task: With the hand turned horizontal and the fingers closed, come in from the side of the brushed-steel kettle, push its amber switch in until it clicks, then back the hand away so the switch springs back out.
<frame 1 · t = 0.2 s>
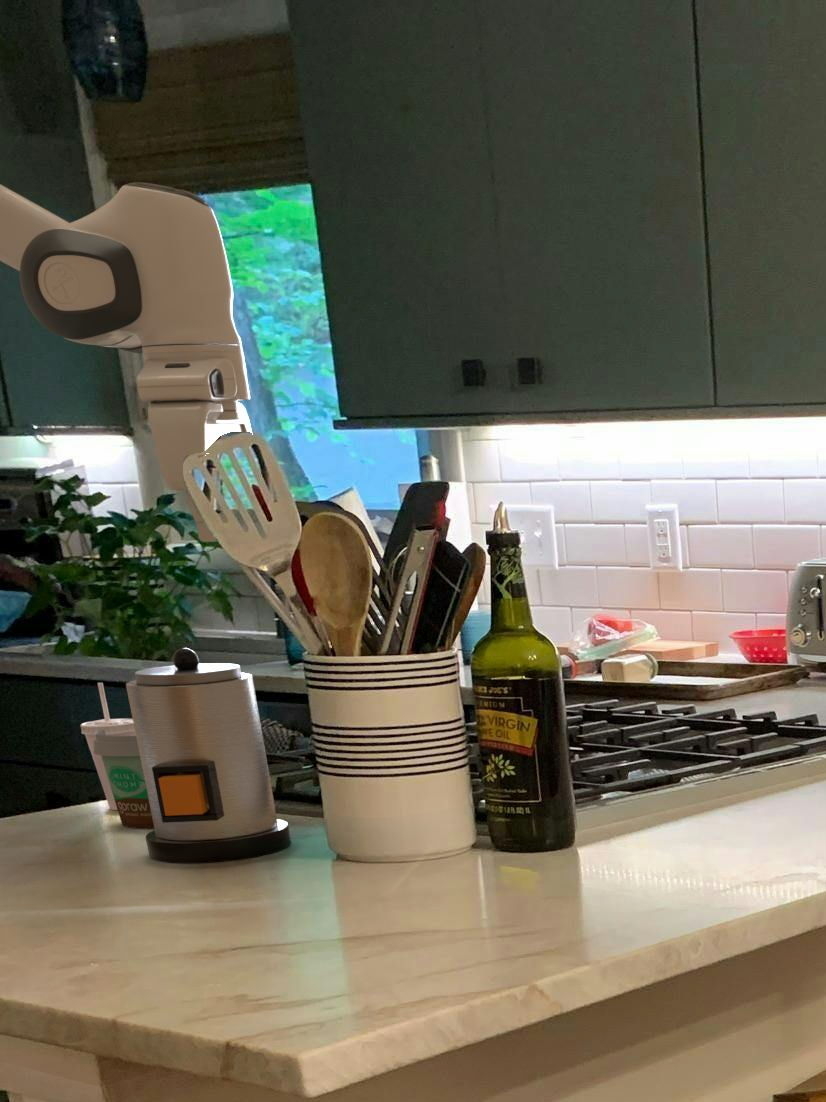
hand: (225, 539, 186), 30 cm above the counter, tool pointing down, fingers open, 8 cm apart
switch: (183, 794, 190), point 7 cm above the counter, slide at 0.1 cm
smoothie: (127, 808, 226), on the counter
food container: (152, 827, 215), on the counter
kettle: (220, 849, 201), on the counter
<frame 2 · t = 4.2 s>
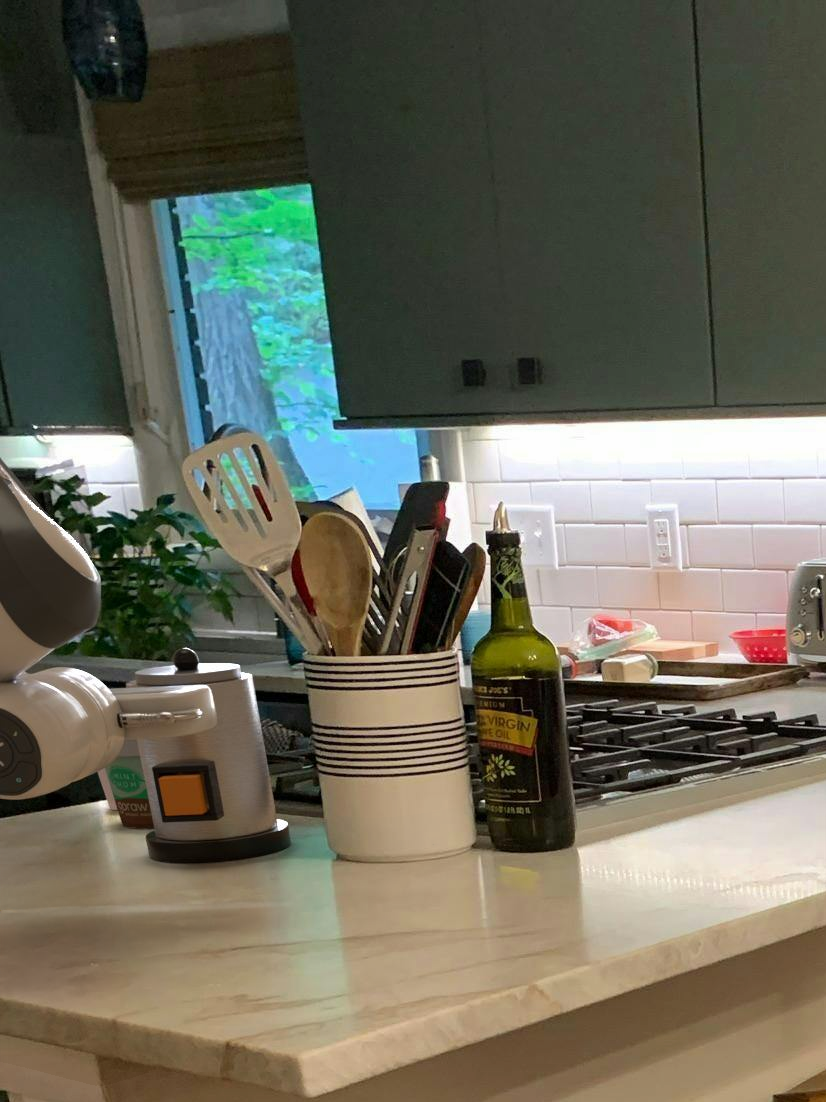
hand: (119, 703, 174), 17 cm above the counter, tool horizontal, fingers closed
nothing on the counter moved.
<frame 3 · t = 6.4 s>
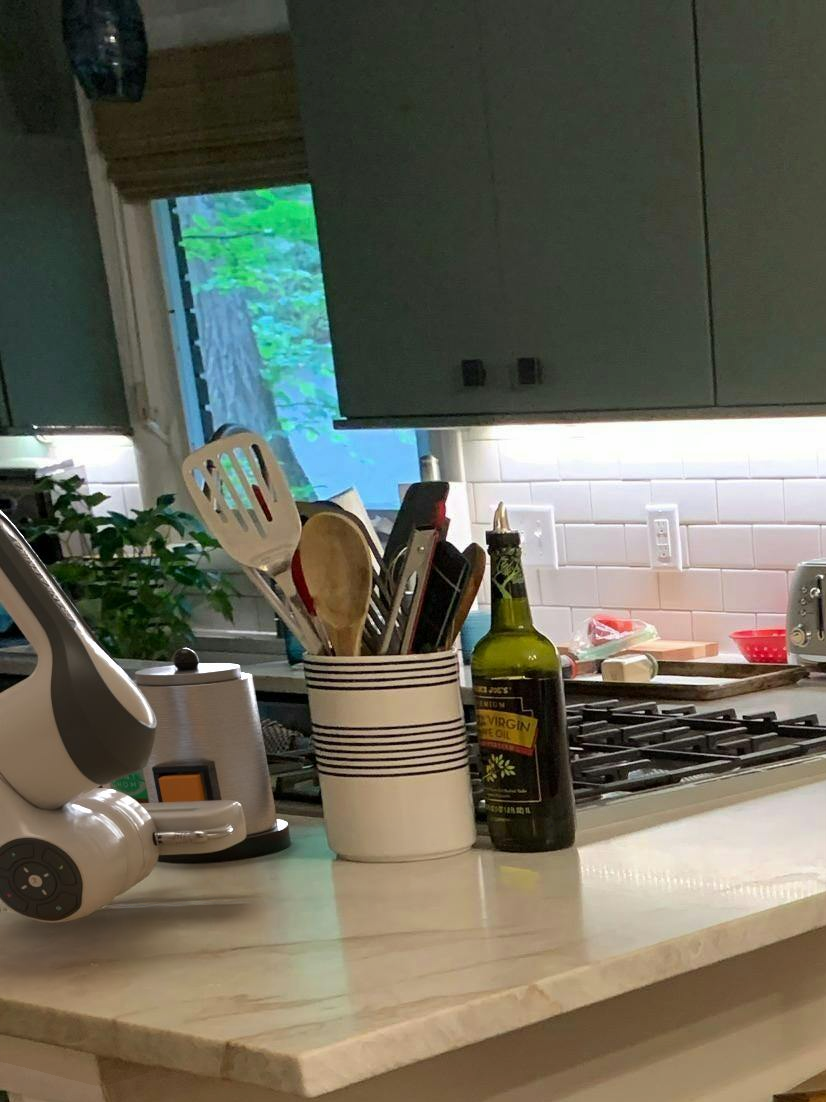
hand: (152, 813, 182), 7 cm above the counter, tool horizontal, fingers closed
nothing on the counter moved.
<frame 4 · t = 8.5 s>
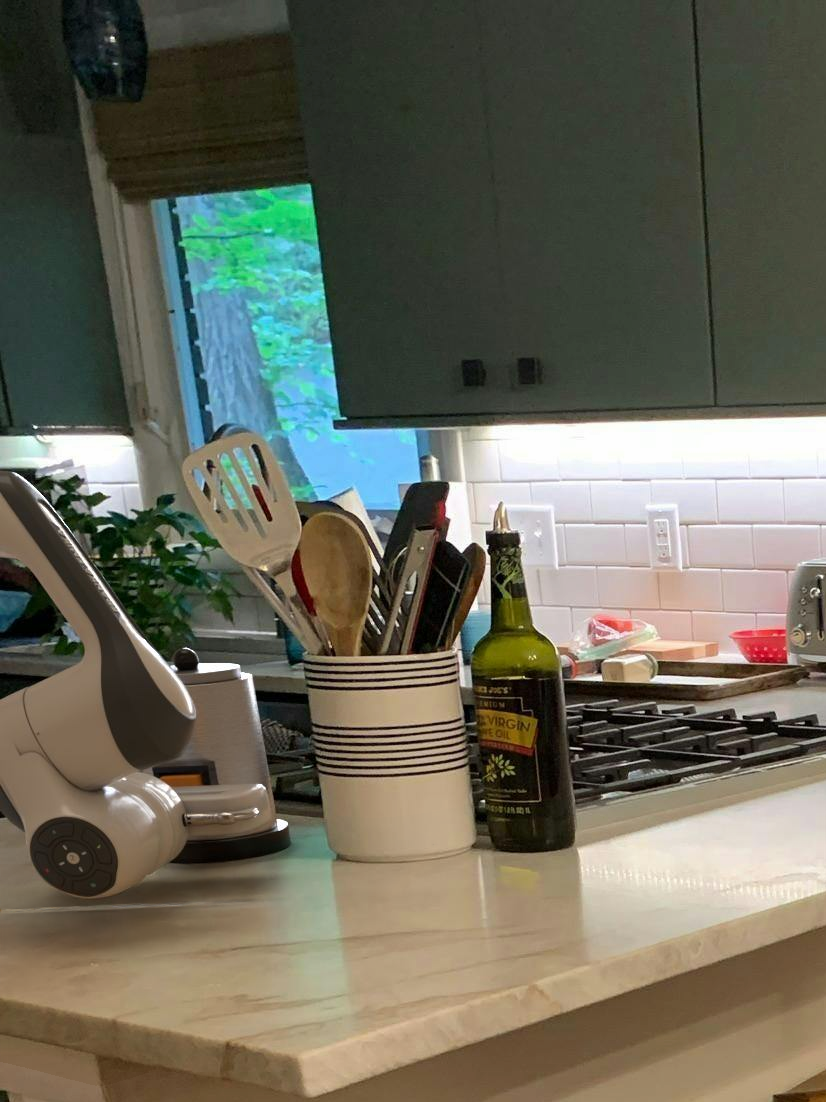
hand: (180, 796, 189), 7 cm above the counter, tool horizontal, fingers closed, pressing on switch
switch: (183, 794, 190), point 7 cm above the counter, slide at -0.1 cm, touching gripper
everything else where it was.
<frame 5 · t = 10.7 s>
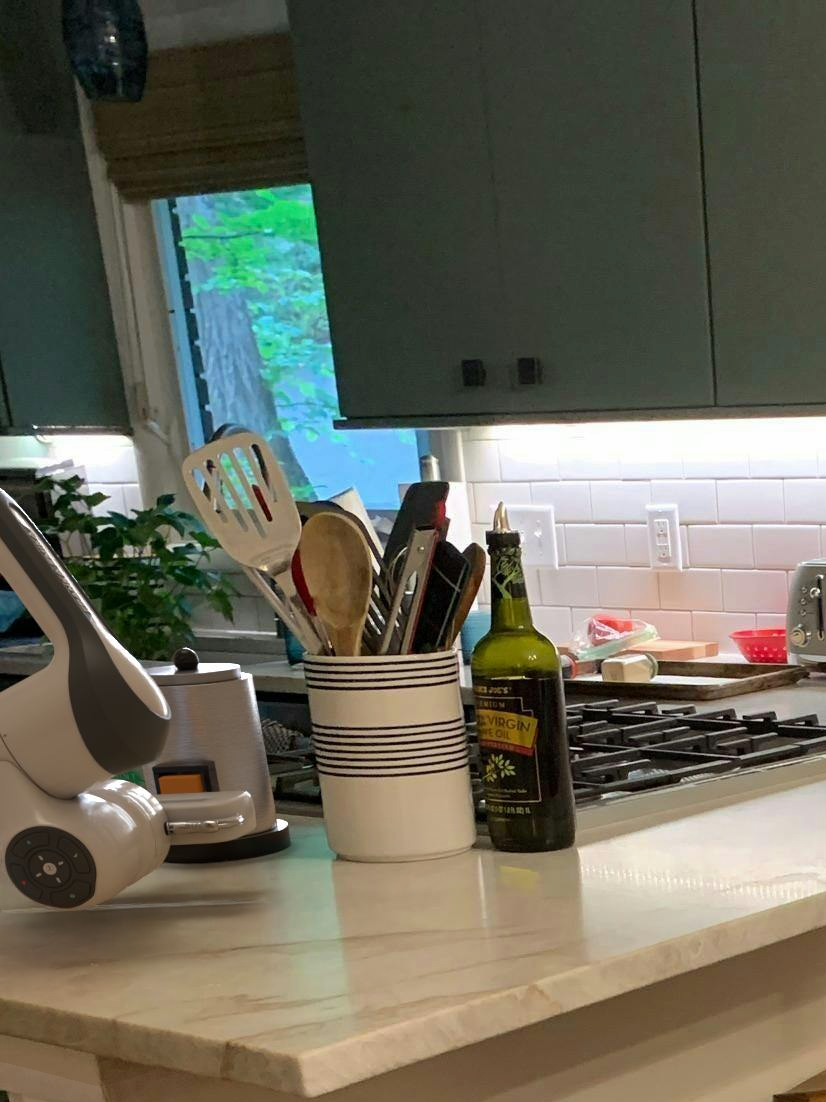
hand: (162, 805, 184), 7 cm above the counter, tool horizontal, fingers closed
switch: (183, 794, 190), point 7 cm above the counter, slide at 0.1 cm
everything else where it was.
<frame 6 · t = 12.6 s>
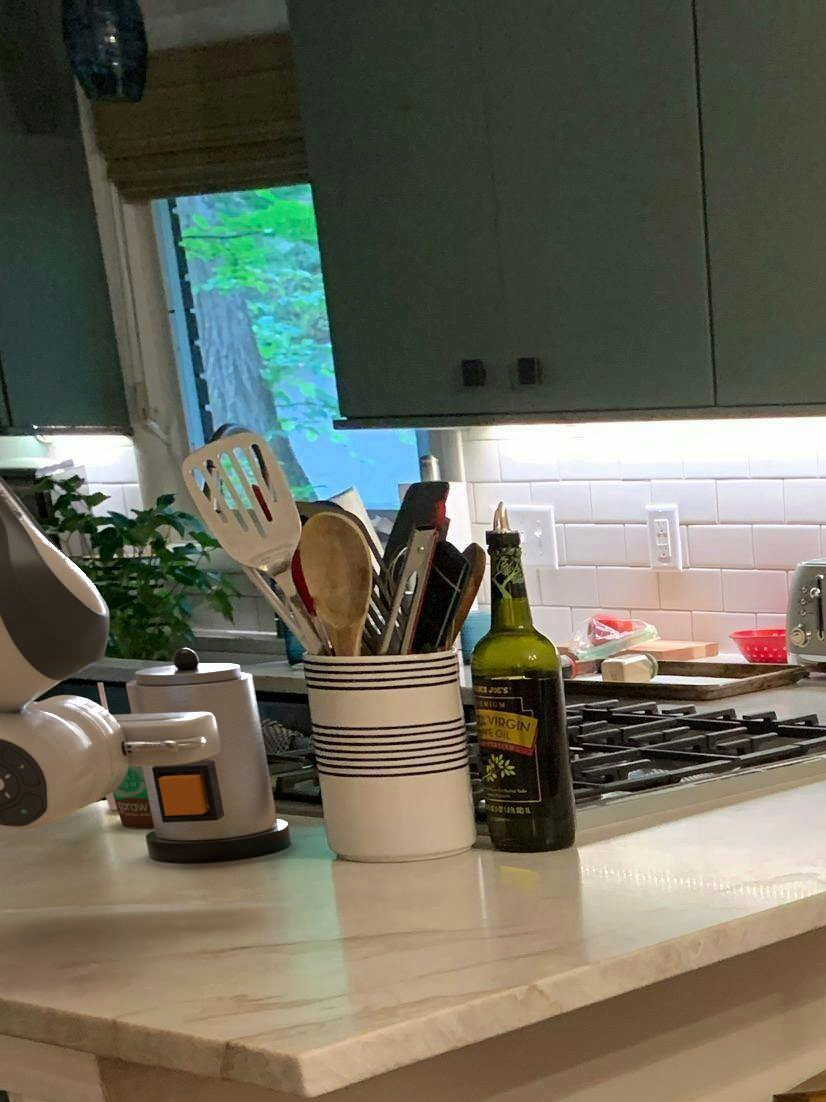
hand: (123, 727, 175), 15 cm above the counter, tool horizontal, fingers closed
nothing on the counter moved.
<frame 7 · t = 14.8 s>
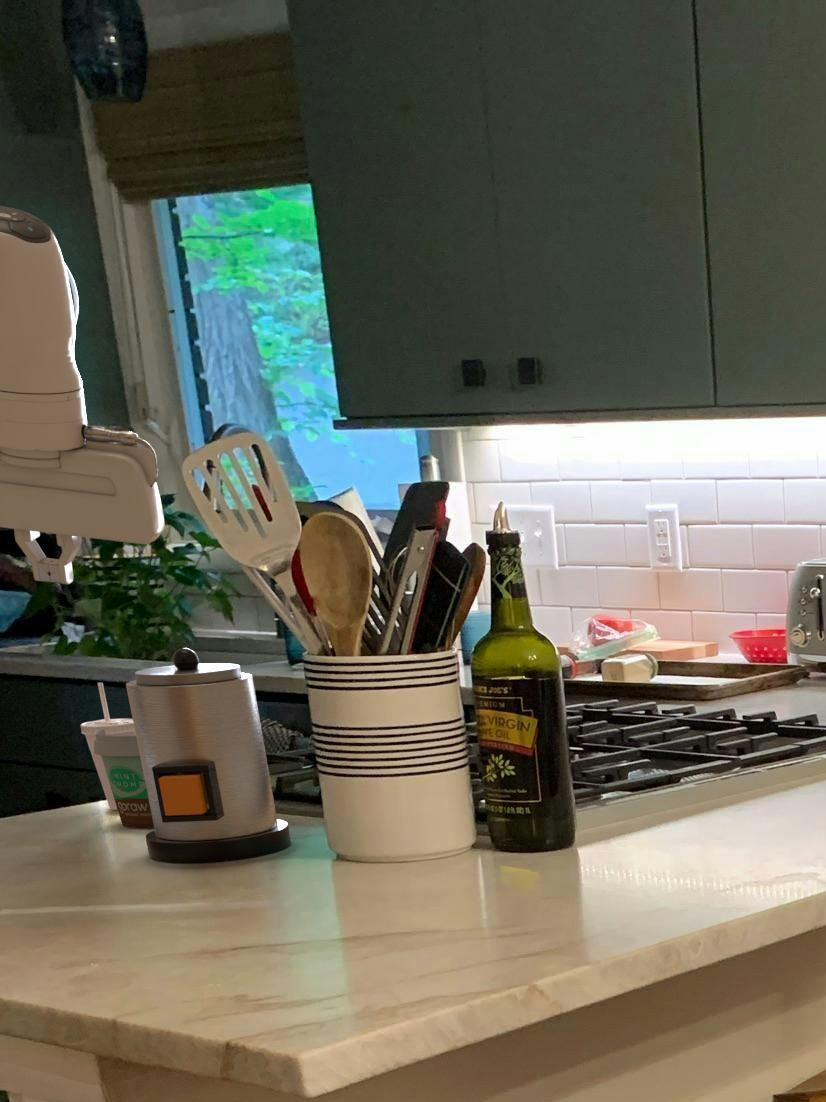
hand: (54, 581, 176), 27 cm above the counter, tool pointing down, fingers closed
nothing on the counter moved.
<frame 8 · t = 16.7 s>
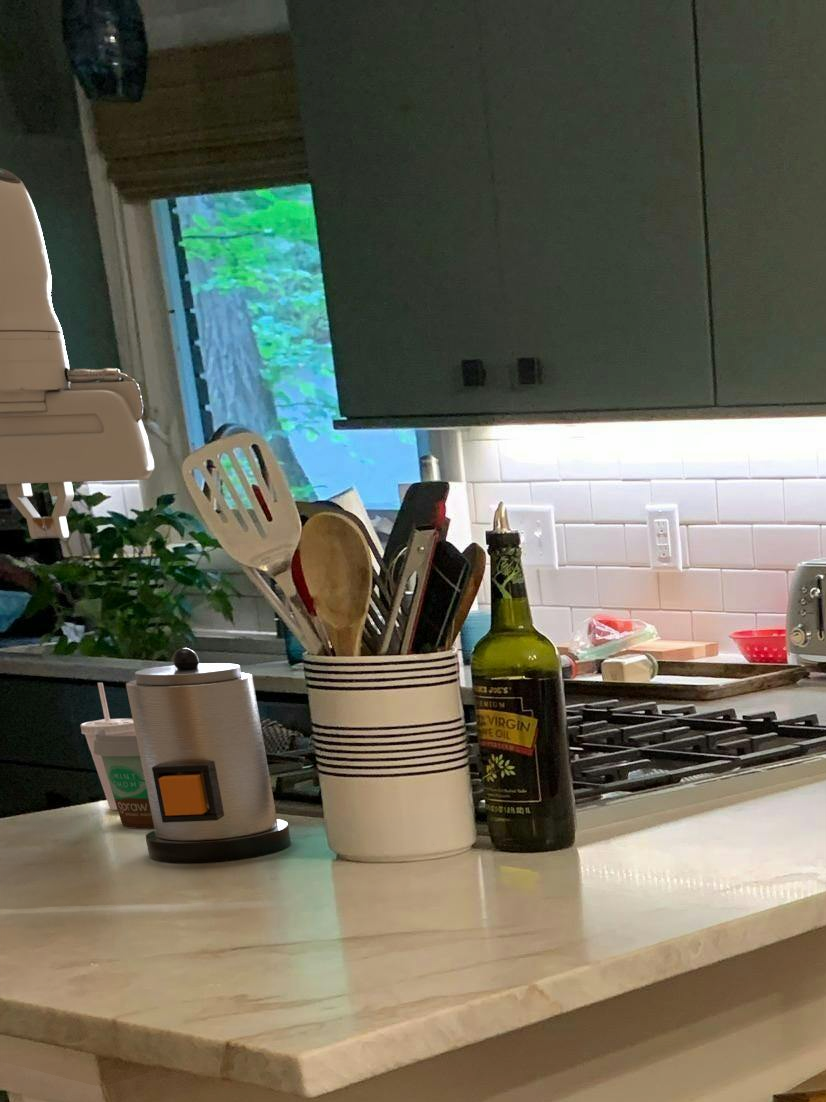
hand: (50, 538, 176), 31 cm above the counter, tool pointing down, fingers closed
nothing on the counter moved.
at the end: switch pushed in 0.9 cm at the most during the clip, back to where it started at the end; switch slide at 0.1 cm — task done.
